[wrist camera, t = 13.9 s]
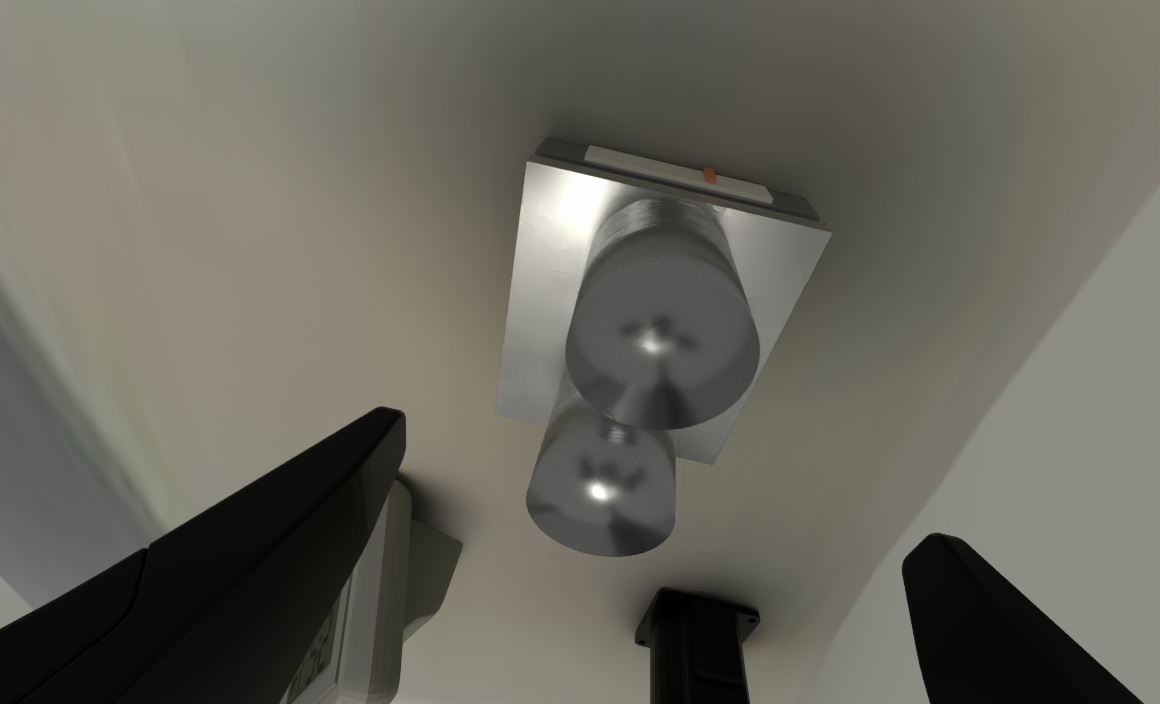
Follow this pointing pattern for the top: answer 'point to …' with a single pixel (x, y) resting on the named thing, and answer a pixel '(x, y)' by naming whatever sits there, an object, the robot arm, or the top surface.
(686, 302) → the cylinder
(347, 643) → the digital clock
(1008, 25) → the top surface
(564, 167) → the platform
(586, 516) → the cylinder
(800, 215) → the scale base
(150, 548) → the robot arm
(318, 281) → the top surface
